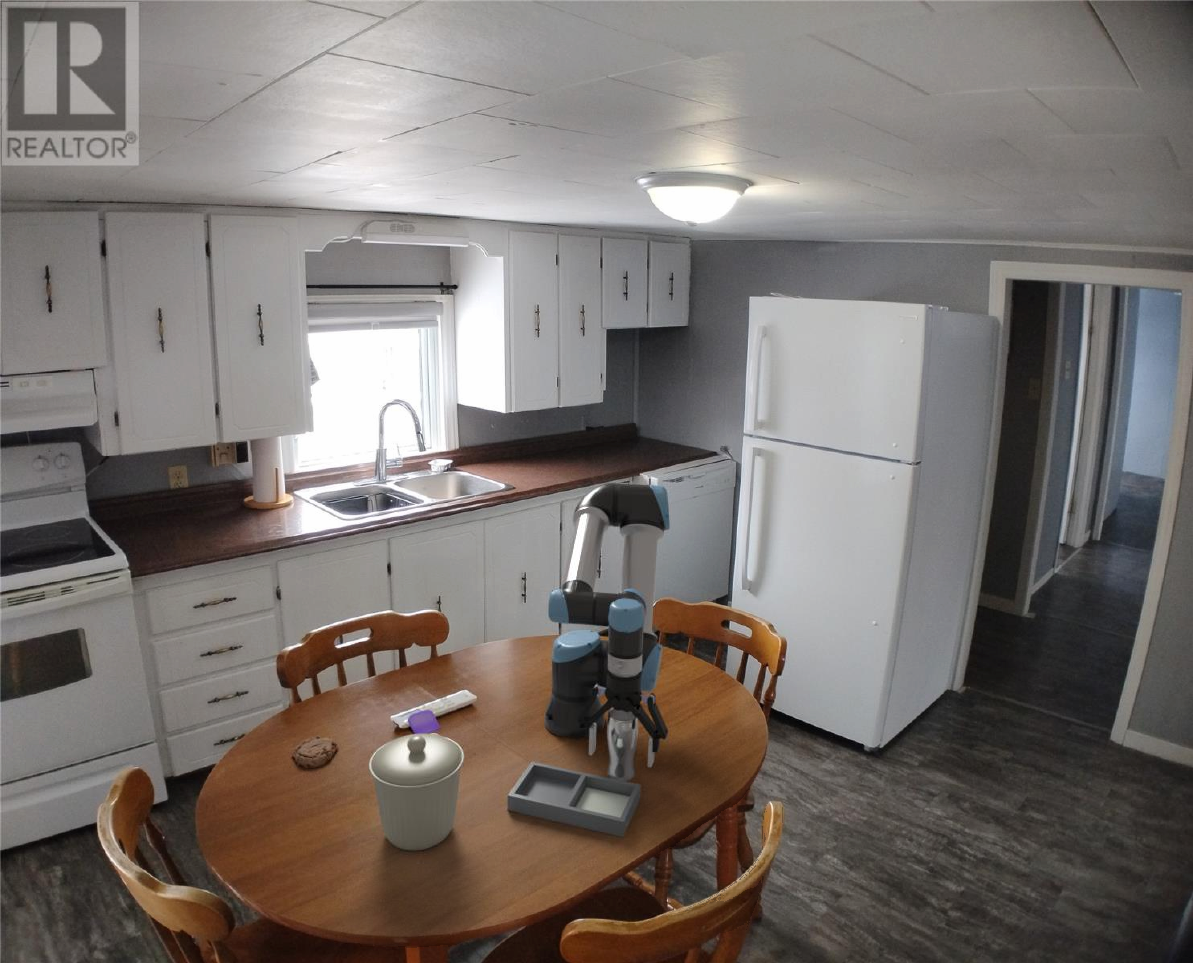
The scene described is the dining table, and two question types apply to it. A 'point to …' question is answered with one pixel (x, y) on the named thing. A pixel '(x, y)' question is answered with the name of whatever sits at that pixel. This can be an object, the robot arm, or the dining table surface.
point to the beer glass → (621, 744)
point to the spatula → (423, 722)
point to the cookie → (314, 751)
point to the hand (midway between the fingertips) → (621, 757)
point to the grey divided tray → (575, 798)
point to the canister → (417, 788)
